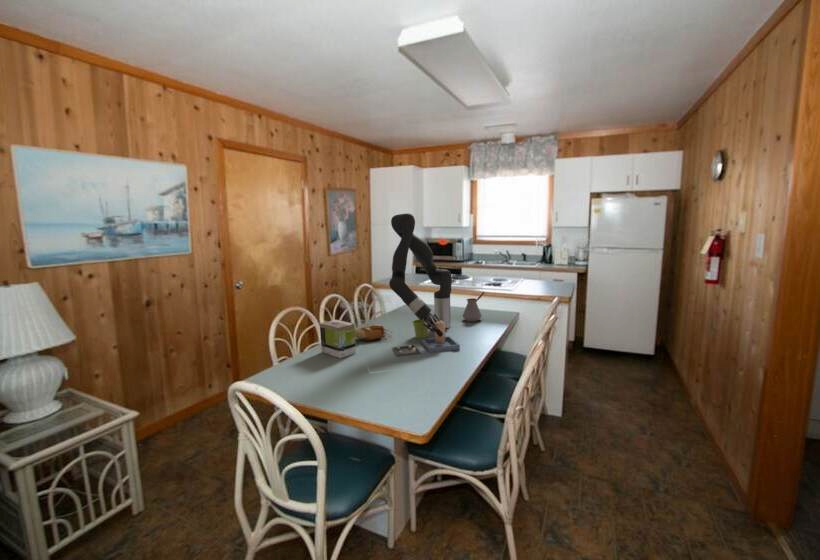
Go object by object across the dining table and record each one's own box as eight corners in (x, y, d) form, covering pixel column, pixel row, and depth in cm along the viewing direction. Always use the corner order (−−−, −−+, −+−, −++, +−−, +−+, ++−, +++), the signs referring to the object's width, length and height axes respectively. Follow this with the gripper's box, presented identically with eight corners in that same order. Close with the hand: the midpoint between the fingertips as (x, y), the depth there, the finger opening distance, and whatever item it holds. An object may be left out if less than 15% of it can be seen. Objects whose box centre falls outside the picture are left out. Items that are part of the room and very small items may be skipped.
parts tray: (392, 349, 191) (392, 345, 191) (414, 347, 193) (414, 343, 193) (397, 357, 180) (397, 352, 180) (420, 354, 183) (420, 350, 182)
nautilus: (398, 338, 210) (384, 348, 197) (365, 332, 219) (349, 341, 206) (398, 324, 208) (384, 334, 195) (364, 318, 217) (348, 327, 204)
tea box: (357, 353, 188) (355, 323, 186) (339, 359, 181) (337, 328, 178) (337, 347, 198) (335, 318, 196) (320, 352, 191) (318, 322, 189)
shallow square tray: (421, 343, 198) (421, 339, 198) (449, 340, 201) (449, 336, 201) (430, 353, 184) (430, 348, 184) (459, 349, 187) (459, 344, 187)
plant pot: (430, 334, 213) (430, 319, 212) (430, 340, 204) (429, 323, 203) (413, 334, 214) (413, 319, 213) (412, 340, 205) (411, 323, 203)
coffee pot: (475, 323, 232) (475, 298, 229) (459, 321, 239) (458, 296, 237) (492, 315, 248) (492, 292, 246) (476, 313, 255) (476, 290, 253)
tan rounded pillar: (433, 341, 194) (433, 320, 192) (443, 340, 195) (442, 319, 194) (436, 344, 189) (436, 322, 188) (446, 343, 191) (446, 321, 189)
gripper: (419, 306, 186) (444, 333, 183) (429, 300, 199) (452, 325, 196) (409, 317, 188) (433, 343, 186) (419, 310, 201) (442, 334, 199)
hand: (443, 333), depth 191 cm, fingers closed on tan rounded pillar, 5 cm apart
